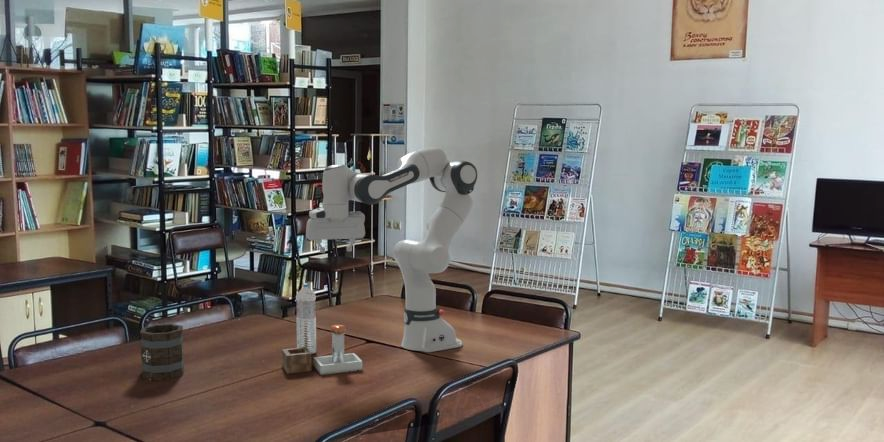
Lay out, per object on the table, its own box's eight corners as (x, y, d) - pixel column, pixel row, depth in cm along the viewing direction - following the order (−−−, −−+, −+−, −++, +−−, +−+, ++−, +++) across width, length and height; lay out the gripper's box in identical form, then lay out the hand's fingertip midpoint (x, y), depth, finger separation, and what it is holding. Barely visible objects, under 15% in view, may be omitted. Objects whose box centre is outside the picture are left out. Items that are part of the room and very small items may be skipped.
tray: (354, 361, 264) (354, 353, 263) (362, 370, 254) (362, 361, 254) (313, 366, 258) (313, 357, 258) (320, 374, 249) (320, 365, 249)
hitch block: (306, 364, 260) (305, 346, 260) (311, 371, 253) (311, 353, 252) (282, 366, 257) (282, 349, 257) (286, 373, 250) (286, 355, 249)
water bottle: (312, 356, 269) (311, 286, 266) (293, 355, 271) (292, 285, 268) (319, 350, 276) (318, 282, 273) (301, 349, 277) (300, 281, 274)
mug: (191, 375, 247) (189, 330, 246) (147, 383, 240) (146, 336, 238) (172, 360, 263) (170, 318, 261) (131, 367, 255) (129, 323, 254)
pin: (343, 363, 259) (343, 324, 258) (347, 367, 255) (347, 327, 254) (329, 364, 258) (329, 325, 256) (333, 368, 253) (332, 328, 252)
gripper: (362, 210, 270) (362, 249, 272) (304, 212, 262) (305, 252, 264) (367, 211, 264) (367, 251, 266) (308, 213, 257) (309, 254, 258)
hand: (335, 251), depth 265 cm, fingers open, 8 cm apart
